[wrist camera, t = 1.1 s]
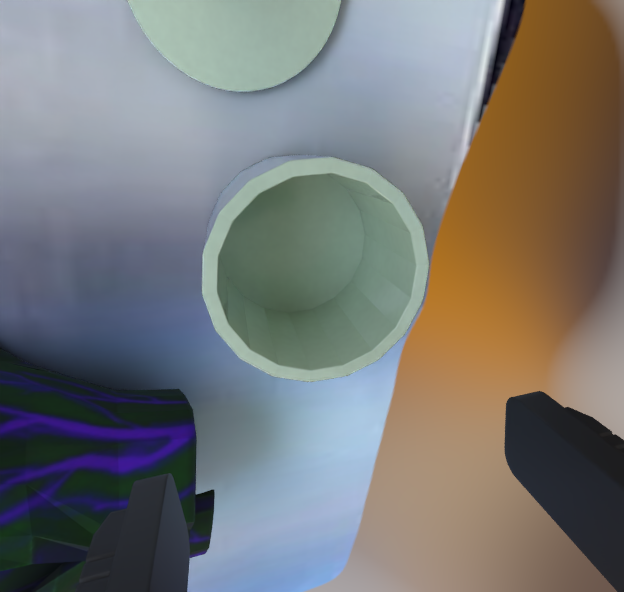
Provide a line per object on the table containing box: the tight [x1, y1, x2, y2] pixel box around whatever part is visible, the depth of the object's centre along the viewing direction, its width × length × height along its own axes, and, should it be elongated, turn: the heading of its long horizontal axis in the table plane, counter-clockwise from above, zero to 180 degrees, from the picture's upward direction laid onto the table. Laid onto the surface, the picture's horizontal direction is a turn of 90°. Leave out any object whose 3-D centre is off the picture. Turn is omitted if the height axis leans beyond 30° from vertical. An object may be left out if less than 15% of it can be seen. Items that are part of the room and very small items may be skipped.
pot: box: [202, 154, 429, 382], centre depth 29 cm, size 13×13×10 cm
